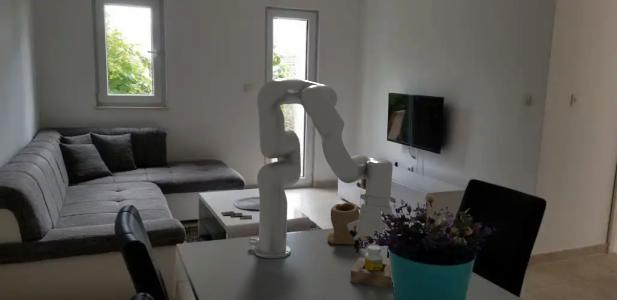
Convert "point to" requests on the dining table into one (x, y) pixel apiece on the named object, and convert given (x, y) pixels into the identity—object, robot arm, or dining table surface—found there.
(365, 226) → the robot arm
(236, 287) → the dining table surface
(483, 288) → the dining table surface
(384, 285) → the bottle holder
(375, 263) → the supplement bottle
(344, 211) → the brown hollow tube piece
